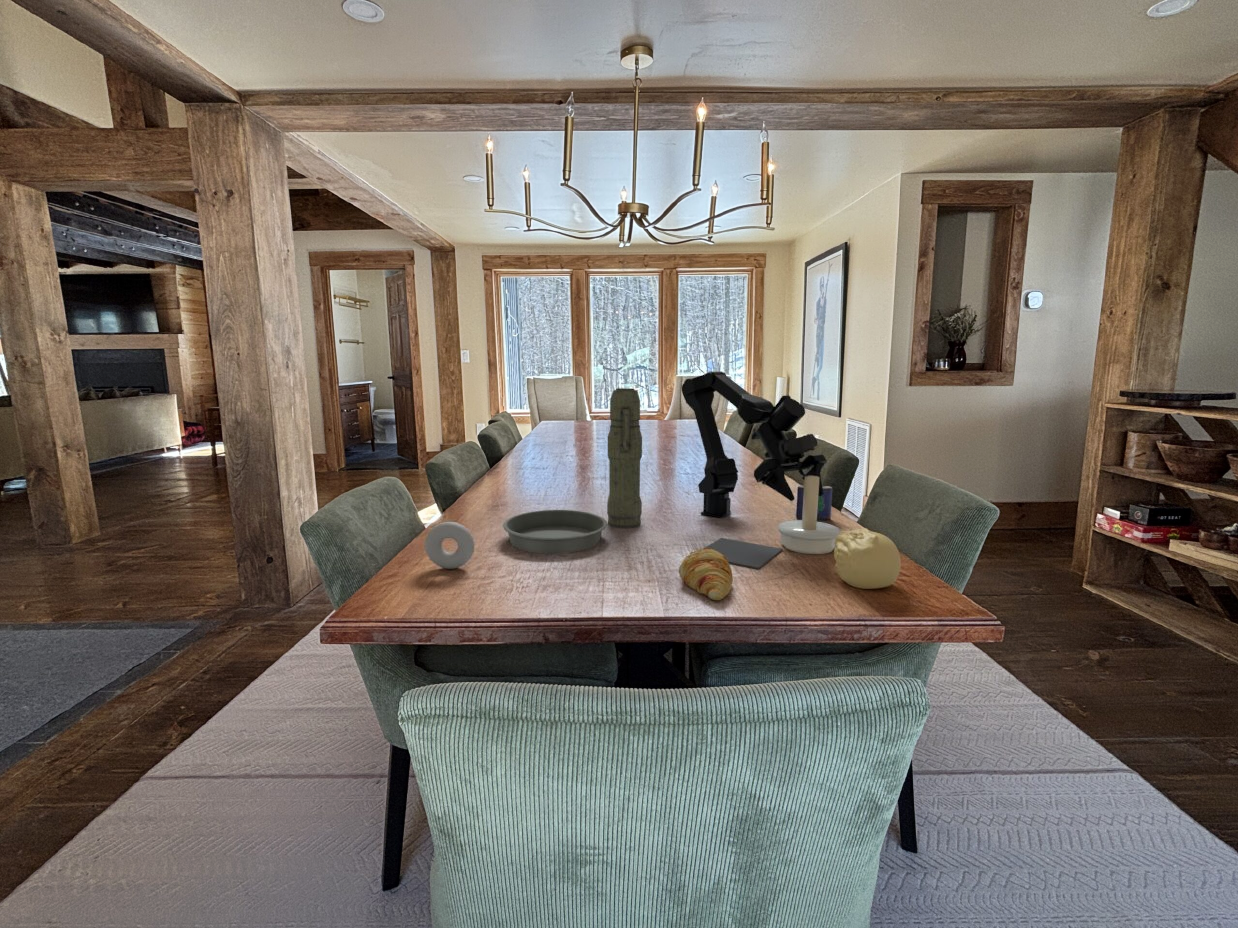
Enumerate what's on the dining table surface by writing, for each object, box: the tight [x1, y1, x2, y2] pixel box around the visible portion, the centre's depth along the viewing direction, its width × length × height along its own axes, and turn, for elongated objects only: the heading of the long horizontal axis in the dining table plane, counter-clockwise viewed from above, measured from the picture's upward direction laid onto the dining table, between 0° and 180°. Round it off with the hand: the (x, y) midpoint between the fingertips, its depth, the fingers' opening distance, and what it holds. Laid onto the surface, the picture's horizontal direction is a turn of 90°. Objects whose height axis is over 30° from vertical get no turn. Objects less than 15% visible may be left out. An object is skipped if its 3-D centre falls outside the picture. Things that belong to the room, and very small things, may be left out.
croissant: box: [678, 548, 734, 601], centre depth 119 cm, size 21×10×8 cm, turn 6°
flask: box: [795, 485, 833, 521], centre depth 166 cm, size 9×3×11 cm, turn 88°
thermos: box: [606, 387, 643, 529], centre depth 159 cm, size 9×12×35 cm
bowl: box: [779, 533, 836, 555], centre depth 142 cm, size 12×12×4 cm
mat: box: [702, 537, 784, 570], centre depth 138 cm, size 15×15×1 cm
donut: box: [424, 521, 475, 570], centre depth 127 cm, size 10×4×10 cm, turn 92°
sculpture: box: [833, 527, 902, 590], centre depth 119 cm, size 11×12×11 cm
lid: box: [777, 476, 841, 540], centre depth 141 cm, size 14×14×13 cm
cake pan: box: [502, 509, 608, 554], centre depth 147 cm, size 25×25×4 cm
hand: (807, 497), depth 142 cm, fingers open, 9 cm apart
